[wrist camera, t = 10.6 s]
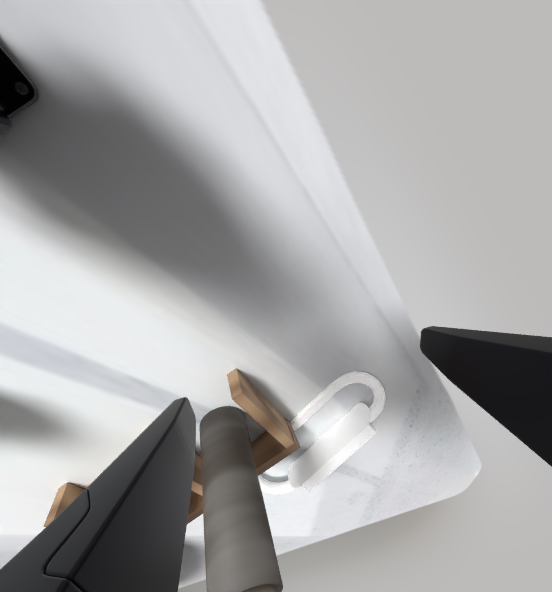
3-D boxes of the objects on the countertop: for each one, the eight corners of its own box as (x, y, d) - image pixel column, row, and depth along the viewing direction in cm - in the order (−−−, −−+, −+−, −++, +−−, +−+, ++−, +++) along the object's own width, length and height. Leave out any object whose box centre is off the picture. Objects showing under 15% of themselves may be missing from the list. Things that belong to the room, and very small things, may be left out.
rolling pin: (349, 351, 31) (363, 368, 27) (390, 389, 33) (408, 410, 29) (235, 459, 33) (234, 488, 29) (280, 488, 35) (284, 518, 32)
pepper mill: (193, 417, 26) (198, 696, 12) (238, 400, 26) (291, 644, 13) (207, 444, 28) (226, 706, 14) (249, 428, 29) (303, 661, 15)
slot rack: (57, 489, 24) (42, 527, 22) (237, 368, 25) (242, 391, 22) (145, 521, 30) (141, 554, 28) (290, 423, 30) (300, 447, 28)
